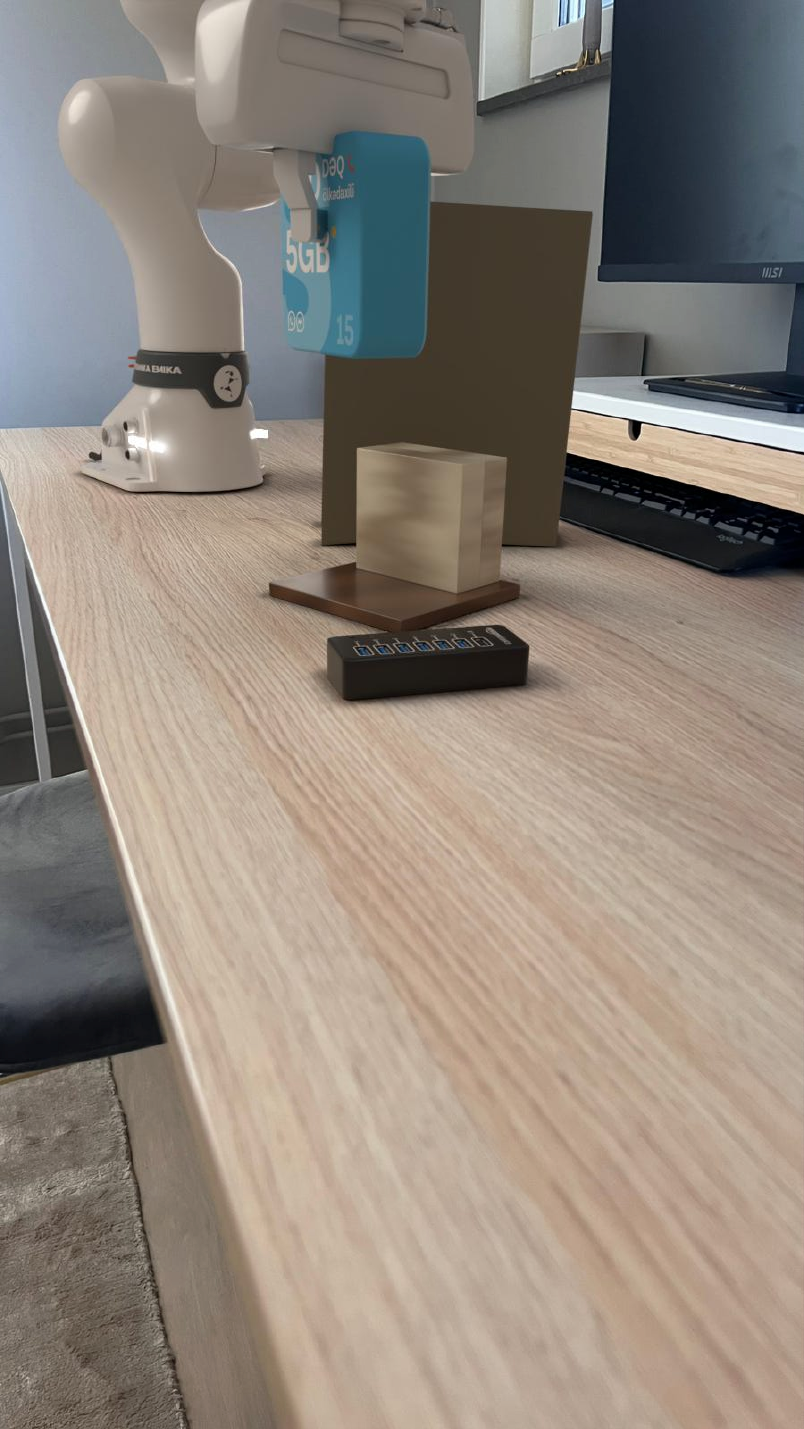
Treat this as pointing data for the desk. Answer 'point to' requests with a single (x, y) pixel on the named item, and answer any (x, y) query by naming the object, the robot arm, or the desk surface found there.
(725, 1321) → the desk surface
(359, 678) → the multiport hub
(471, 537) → the wood block on base
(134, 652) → the desk surface
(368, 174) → the data package
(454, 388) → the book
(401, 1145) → the desk surface
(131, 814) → the desk surface
